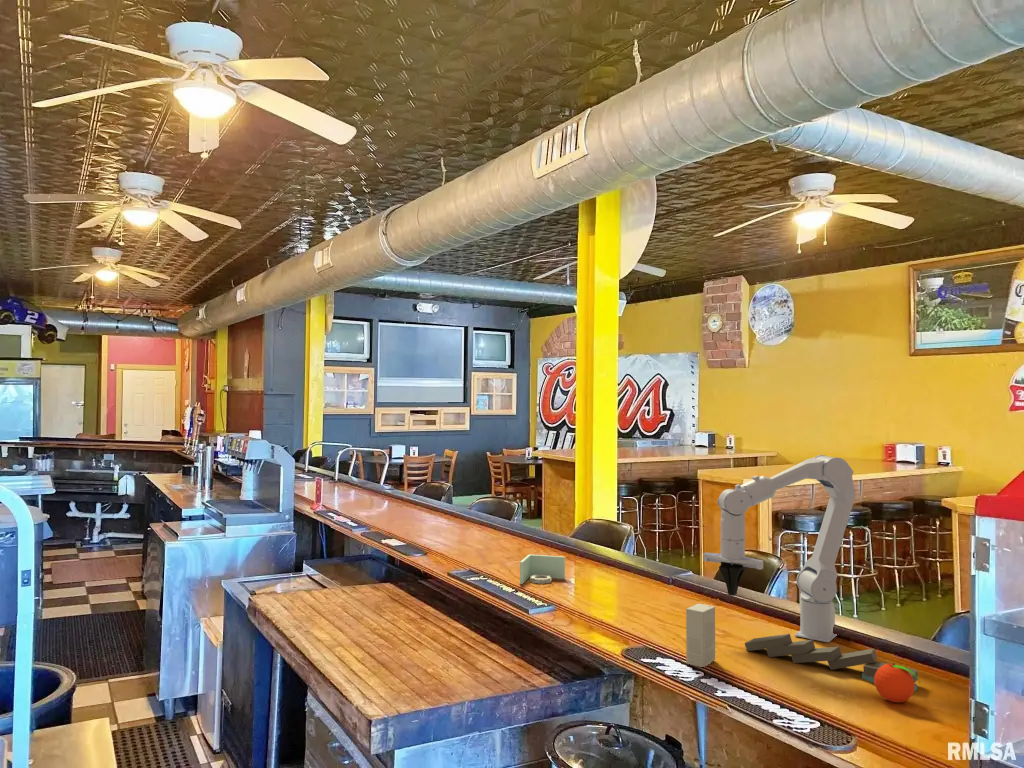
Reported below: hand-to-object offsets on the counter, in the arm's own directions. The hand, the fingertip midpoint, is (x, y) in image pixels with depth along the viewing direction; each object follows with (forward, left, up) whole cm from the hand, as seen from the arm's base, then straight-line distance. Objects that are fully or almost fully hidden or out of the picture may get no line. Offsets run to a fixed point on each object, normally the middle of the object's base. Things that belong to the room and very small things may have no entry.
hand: (732, 594), depth 182 cm
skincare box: (+23, +2, -10) cm, 25 cm away
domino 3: (+8, +18, -9) cm, 21 cm away
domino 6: (+8, +33, -10) cm, 35 cm away
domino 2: (+7, +12, -9) cm, 17 cm away
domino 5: (+9, +32, -8) cm, 34 cm away
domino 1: (+7, +7, -9) cm, 13 cm away
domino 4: (+8, +25, -9) cm, 27 cm away
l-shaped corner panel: (-14, -67, -11) cm, 70 cm away
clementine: (+19, +40, -10) cm, 45 cm away
